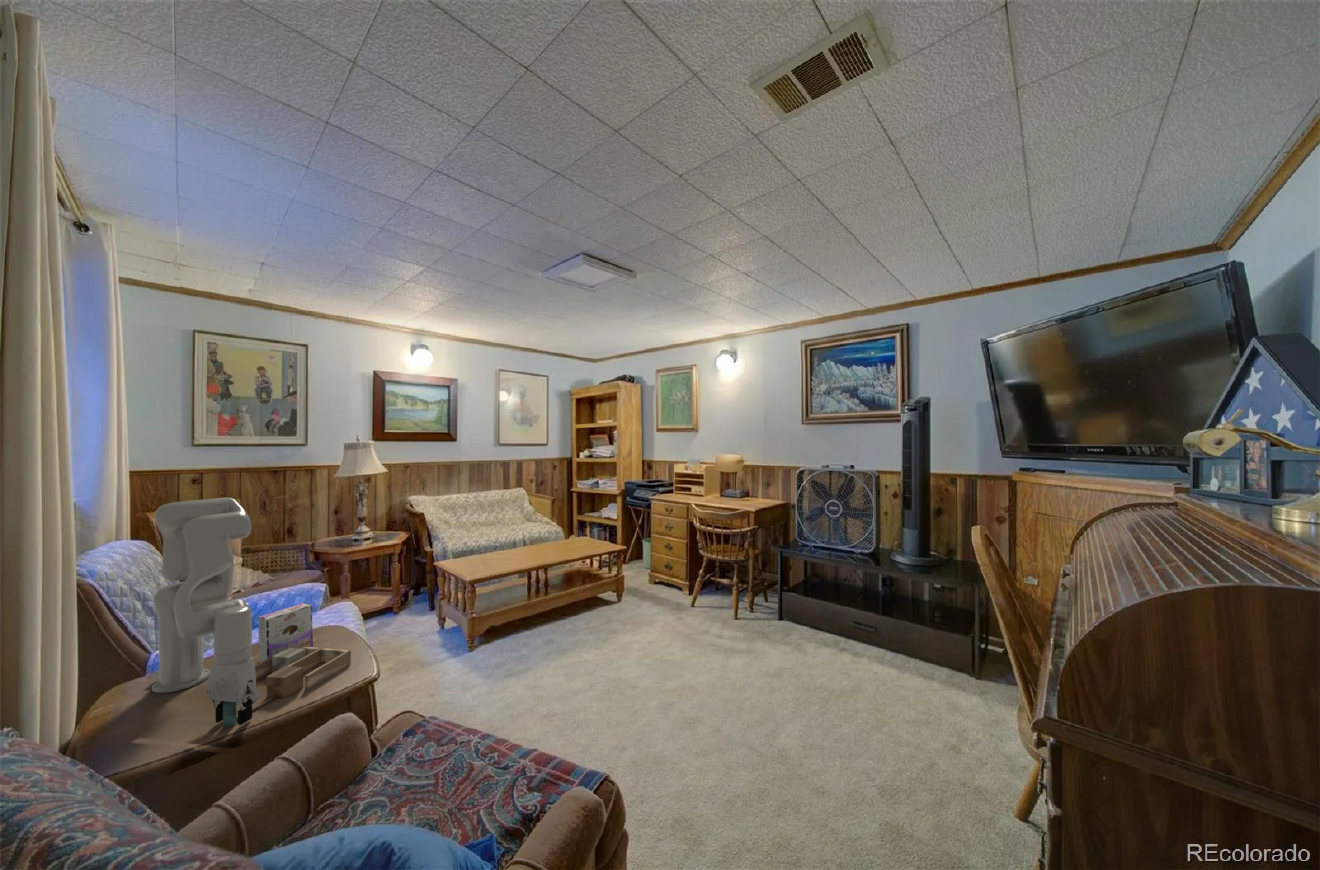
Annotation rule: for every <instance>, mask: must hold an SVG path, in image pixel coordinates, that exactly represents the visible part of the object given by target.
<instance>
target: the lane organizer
mask: <svg viewBox="0 0 1320 870" xmlns="http://www.w3.org/2000/svg"><path fill="white" fill-rule="evenodd" d="M290 648H302V649H305V657H303V658H301V659H299V660H298V661H296V662H294V663H292V664H290V665H288V666H291V667H302V668H303V673H304V672H306V671H307V670H309V669H311V668H313V667H314V666H316V665H318V664H320V663H324V664H322V665H321V666H319V667H318V668H315V669H313V670H312V671H310V672H309V673H307V674H305V675H304V685H305V687H304V690H310V689H312V688H313V687H314V686H316V685H319V683H321V682H323V681H324V680H326V679H327V678H329V677H331V676H332V675H334V674H335V673H337V672H339V671H340V670H341V669H343V668H344V667H346V666H348V665H350V664H351V663H352V659H351V657H352V655H351V654H352V653H351V651H352V650H349V649H339V648H327V647H315V646H313V647H304V646H292V647H290ZM254 665H255V672H256V681H257V680H258V679H260V678H263V677H264V676H265V675H268V674H271V673H272V657H270V658H268V659H266V660H264V661H263V662H261V663H260V662H258V663H257V664H254Z"/></svg>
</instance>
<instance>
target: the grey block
mask: <svg viewBox="0 0 1320 870" xmlns="http://www.w3.org/2000/svg"><path fill="white" fill-rule="evenodd" d="M303 657H305V649H302V648H288V649H286V650H284V651H282V652H280V653H278V654H276V655H274V656H272V671H271V674H272V673H274V672H276V671H278V670H280V669H281V668H283V667H285V666H288V665H290V664H292V663H294V662H296V661H298V660H299V659H301V658H303Z"/></svg>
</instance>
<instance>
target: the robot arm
mask: <svg viewBox="0 0 1320 870" xmlns="http://www.w3.org/2000/svg"><path fill="white" fill-rule="evenodd" d="M154 518H155V519H154V520H155V524H156V526H157V528H158V530H159V532H160V533H161V535H162V539H163V545H162V546H163V547H162V575H163V577H164V578H165V579H166V580H168V581H170V582H171V581H172V582H176V583H172V584H169V585H166V586H163V587H162V588H160V589H159V590H157V591H156V592H155V595H154V597H153V604H154V609H155V613H156V617H157V622H158V623H157V624H158V625H157V626H158V658H159V659H158V660H159V661H158V664H159V665H158V666H159V667H158V670H155V671H153V673H152V676H153V677H157V681H155V683H153V685H152V686H151V691H152V692H153V693H156V694H167V693H173V692H178V691H183V690H185V689H188V688H191V687H193V686H196V685H198V684H201V683H202V682H204V681H205V680H207V679H208V686H207V690H206V694H207V696H208V699H209V700H211V701H212V703H213V705H212V706H213V708H215V723H220V722H223V703H224V702H225V701H226V702H237V705H238V708H239V710H237V717H238V720H237V725H238V726H242V725H244V724H245V723H246V722H248V721H250V720H251V719H252V718H253V711H252V708H253V705H254V704H255V702H257V700H258V699H259V698H260V697H261V695H262V693H261V691H259V689H258V688H257V680H256V672H255V665H256V664H255V661H254V658H253V628H252V627H253V626H252V625H253V622H252V621H253V619H252V616H253V614H252V609H251V608H250V605H249V603H248V602H246V601H245V600H243V599H242V598H235V599H231V600H230V598H231V597H232V594H233V587H234V586H233V583H234V568H235V567H234V566H235V565H234V562H235V557H234V552H233V549H232V548H231V546H230V545H229V542H230V541H236V540H242V539H246V538H247V537H249V536H250V534H251V533H252V529H253V528H252V527H253V526H252V521H251V519H250V515H249V514H248V512H247V511H246V510H245V509H244V508H243V506H242V505H241V504H239V502H238V501H237V500H236V499H235V498H232V497H216V498H215V497H214V498H205V499H194V500H193V499H192V500H185V501H183V500H182V501H175V502H170V503H165V504H163V505H160V506H159V507H157V509H156V511H155V515H154ZM228 541H229V542H228ZM211 634H213V662H212V663H211V666H210V669H208V668H205V667H204V637H205V636H206V635H207V636H208V635H211ZM244 699H246V701H244Z"/></svg>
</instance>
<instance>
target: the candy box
mask: <svg viewBox="0 0 1320 870" xmlns="http://www.w3.org/2000/svg"><path fill="white" fill-rule="evenodd" d="M292 646H304V647H314V642H313V604H309V603H306V602H301V603H299V604H295V605H293V606H289V607H286V608H282V609H279V610H275V611H273V612H270V613H266V614H263V615H262V614H261V615H259V616H258V663H261V662H263V661H264V660H266V659H268V658H270V657H272V656H274V655H276V654H278V653H280V652H282V651H284V650H286V649H288V648H290V647H292Z"/></svg>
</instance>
